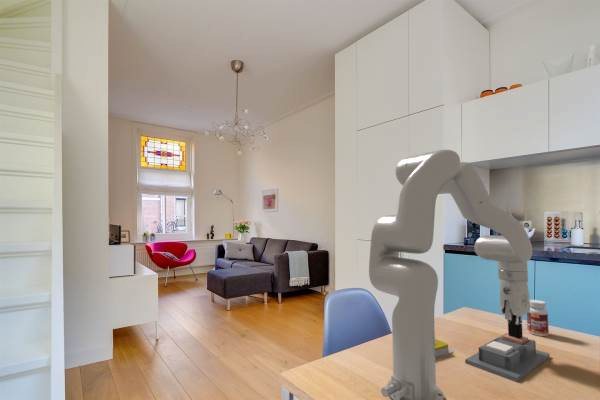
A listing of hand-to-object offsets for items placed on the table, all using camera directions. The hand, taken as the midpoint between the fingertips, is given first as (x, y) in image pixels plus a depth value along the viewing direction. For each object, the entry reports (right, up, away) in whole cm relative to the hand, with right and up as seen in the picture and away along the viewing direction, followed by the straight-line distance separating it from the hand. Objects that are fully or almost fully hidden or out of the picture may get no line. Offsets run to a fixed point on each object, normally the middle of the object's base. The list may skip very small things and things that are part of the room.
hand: (515, 336), depth 96 cm
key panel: (-5, -5, -4) cm, 8 cm away
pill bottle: (+20, -7, +17) cm, 27 cm away
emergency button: (-26, -6, +3) cm, 27 cm away
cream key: (-9, -3, -7) cm, 12 cm away
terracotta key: (0, -3, 0) cm, 3 cm away
